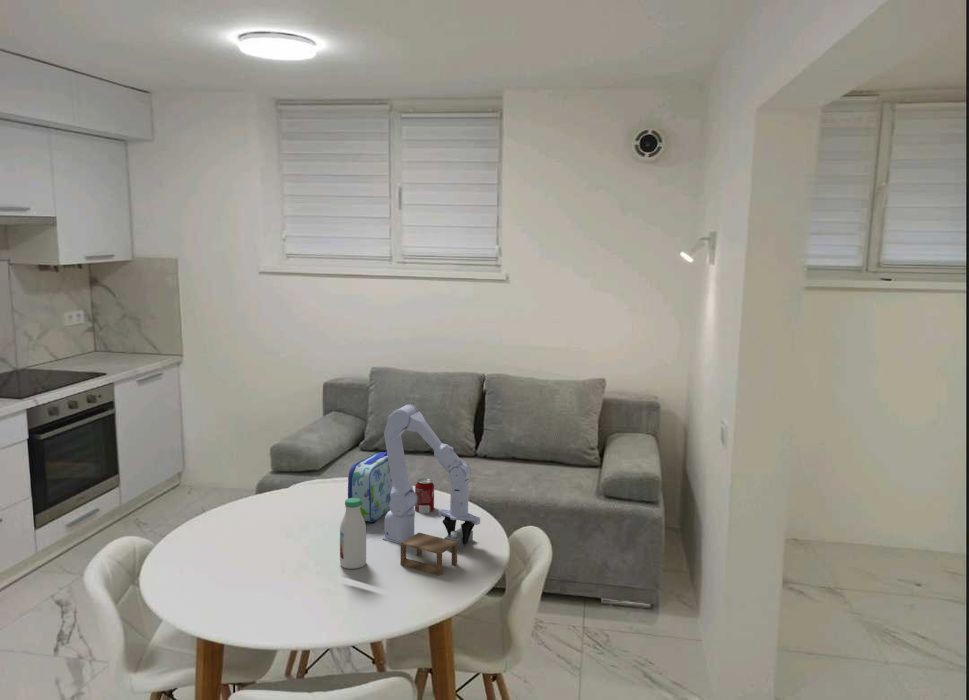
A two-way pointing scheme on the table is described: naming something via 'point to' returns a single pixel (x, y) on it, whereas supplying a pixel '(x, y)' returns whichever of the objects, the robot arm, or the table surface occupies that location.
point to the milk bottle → (353, 536)
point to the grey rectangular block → (458, 538)
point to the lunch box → (371, 485)
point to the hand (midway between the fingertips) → (458, 541)
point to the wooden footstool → (429, 545)
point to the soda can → (424, 495)
